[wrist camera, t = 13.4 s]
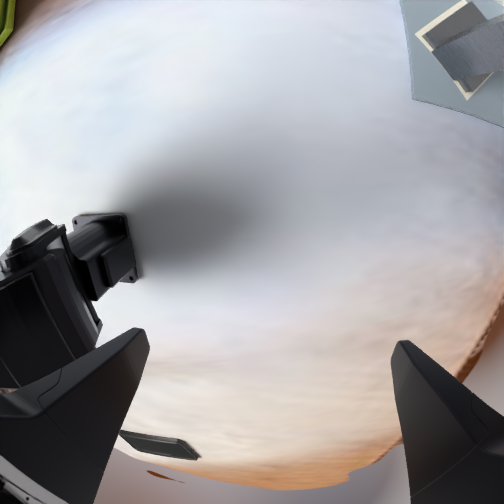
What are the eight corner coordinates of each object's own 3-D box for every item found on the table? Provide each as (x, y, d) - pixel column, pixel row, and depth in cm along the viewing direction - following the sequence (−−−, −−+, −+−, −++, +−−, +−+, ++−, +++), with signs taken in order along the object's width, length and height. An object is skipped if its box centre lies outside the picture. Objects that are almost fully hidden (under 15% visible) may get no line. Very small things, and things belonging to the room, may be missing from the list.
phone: (116, 431, 39) (180, 442, 36) (118, 427, 40) (181, 437, 37) (137, 451, 42) (199, 461, 39) (139, 447, 43) (200, 456, 40)
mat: (412, 99, 15) (414, 98, 15) (387, -44, 9) (388, -46, 9) (524, 137, 14) (527, 137, 13) (502, 8, 8) (505, 7, 7)
